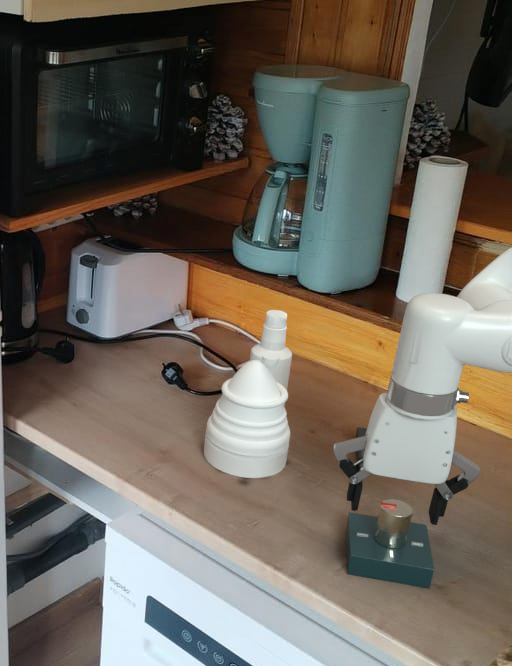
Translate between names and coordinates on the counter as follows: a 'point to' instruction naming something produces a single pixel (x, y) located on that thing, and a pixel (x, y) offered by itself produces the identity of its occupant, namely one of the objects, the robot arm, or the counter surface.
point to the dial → (393, 523)
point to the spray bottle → (275, 345)
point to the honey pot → (250, 423)
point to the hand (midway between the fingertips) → (392, 512)
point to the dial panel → (388, 553)
